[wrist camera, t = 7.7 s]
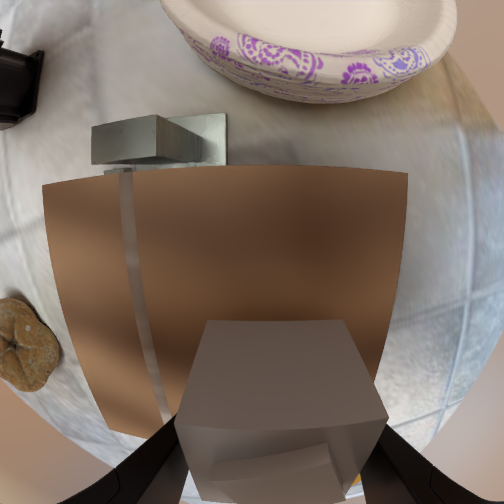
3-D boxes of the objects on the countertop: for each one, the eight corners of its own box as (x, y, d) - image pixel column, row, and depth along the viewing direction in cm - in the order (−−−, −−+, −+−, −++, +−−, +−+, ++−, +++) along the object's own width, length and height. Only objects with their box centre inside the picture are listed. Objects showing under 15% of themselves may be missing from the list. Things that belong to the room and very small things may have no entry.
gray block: (217, 409, 12) (199, 514, 6) (207, 319, 10) (167, 444, 5) (324, 408, 11) (345, 510, 6) (342, 319, 10) (397, 436, 5)
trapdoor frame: (110, 129, 17) (35, 116, 9) (226, 114, 16) (195, 75, 9) (149, 396, 23) (119, 456, 15) (236, 406, 22) (225, 477, 15)
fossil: (34, 408, 18) (-37, 346, 15) (39, 394, 22) (-24, 339, 18) (70, 343, 22) (-2, 277, 19) (72, 336, 26) (8, 279, 22)
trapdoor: (98, 178, 16) (40, 185, 10) (364, 171, 15) (408, 173, 9) (135, 383, 20) (109, 430, 15) (336, 394, 19) (349, 449, 14)
